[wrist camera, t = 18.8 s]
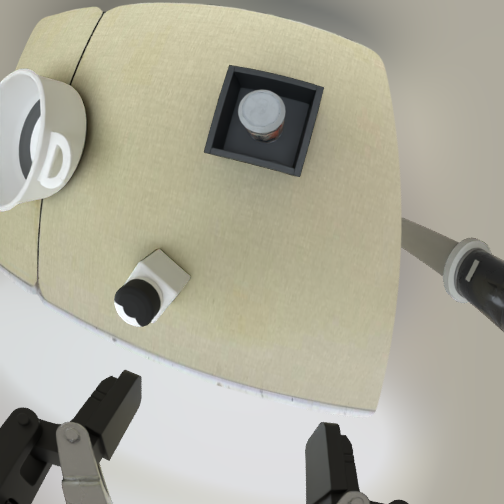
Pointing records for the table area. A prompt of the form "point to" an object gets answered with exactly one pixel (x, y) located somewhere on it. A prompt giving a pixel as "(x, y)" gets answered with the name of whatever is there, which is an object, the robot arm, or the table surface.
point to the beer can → (262, 115)
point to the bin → (294, 129)
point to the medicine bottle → (150, 289)
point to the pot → (38, 136)
